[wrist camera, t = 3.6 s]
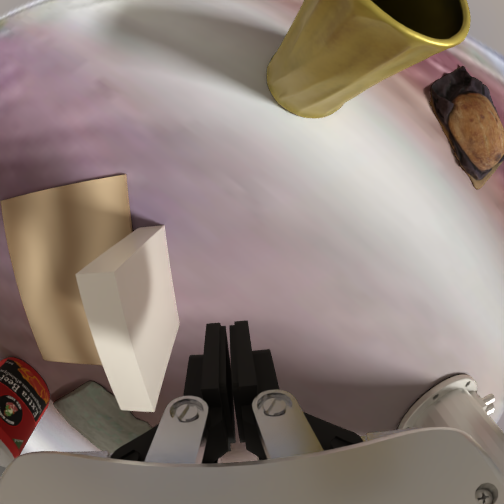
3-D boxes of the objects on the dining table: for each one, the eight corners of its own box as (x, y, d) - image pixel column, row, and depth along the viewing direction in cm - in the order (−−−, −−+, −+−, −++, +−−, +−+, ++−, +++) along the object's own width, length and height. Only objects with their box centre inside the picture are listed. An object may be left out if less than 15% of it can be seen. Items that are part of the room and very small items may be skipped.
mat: (126, 174, 20) (124, 174, 20) (160, 363, 24) (159, 366, 24) (3, 200, 19) (0, 201, 19) (45, 358, 24) (43, 360, 23)
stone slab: (97, 366, 26) (50, 401, 26) (90, 380, 23) (42, 415, 23) (230, 469, 32) (177, 492, 32) (233, 484, 29) (177, 506, 29)
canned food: (62, 396, 25) (23, 466, 15) (34, 412, 26) (0, 470, 16) (16, 344, 23) (-39, 404, 13) (-6, 367, 24) (-51, 419, 14)
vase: (268, 39, 18) (314, -96, 4) (347, 51, 18) (462, -39, 5) (264, 114, 19) (321, 24, 6) (347, 124, 20) (491, 86, 6)
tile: (164, 225, 21) (114, 271, 12) (179, 323, 23) (154, 412, 14) (136, 227, 21) (72, 274, 11) (154, 324, 23) (118, 409, 14)
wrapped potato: (506, 151, 21) (530, 153, 18) (468, 195, 23) (494, 201, 19) (460, 60, 19) (484, 52, 15) (414, 95, 20) (440, 88, 16)
